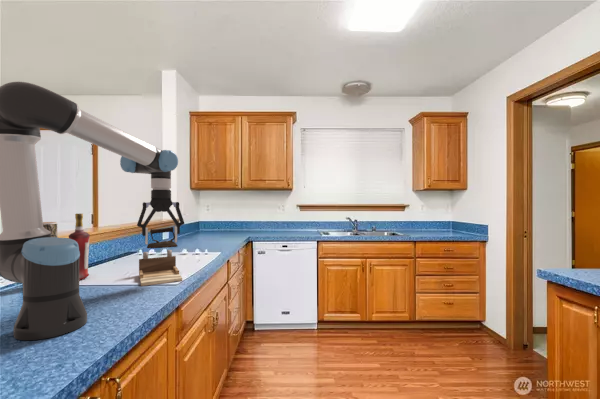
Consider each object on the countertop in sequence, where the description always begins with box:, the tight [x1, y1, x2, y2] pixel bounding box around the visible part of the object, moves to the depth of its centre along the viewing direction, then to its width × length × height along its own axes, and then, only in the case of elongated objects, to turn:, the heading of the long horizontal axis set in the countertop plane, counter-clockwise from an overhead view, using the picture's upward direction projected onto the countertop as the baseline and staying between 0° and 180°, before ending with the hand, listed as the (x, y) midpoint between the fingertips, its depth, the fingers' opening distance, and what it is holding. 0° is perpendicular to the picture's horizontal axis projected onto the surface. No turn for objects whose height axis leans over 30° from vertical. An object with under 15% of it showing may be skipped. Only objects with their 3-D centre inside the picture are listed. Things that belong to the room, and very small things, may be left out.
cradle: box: [138, 249, 183, 287], centre depth 133 cm, size 20×15×10 cm
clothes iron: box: [146, 226, 178, 249], centre depth 126 cm, size 7×11×10 cm, turn 129°
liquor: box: [68, 213, 91, 281], centre depth 131 cm, size 7×7×28 cm
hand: (161, 242), depth 127 cm, fingers closed on clothes iron, 10 cm apart
